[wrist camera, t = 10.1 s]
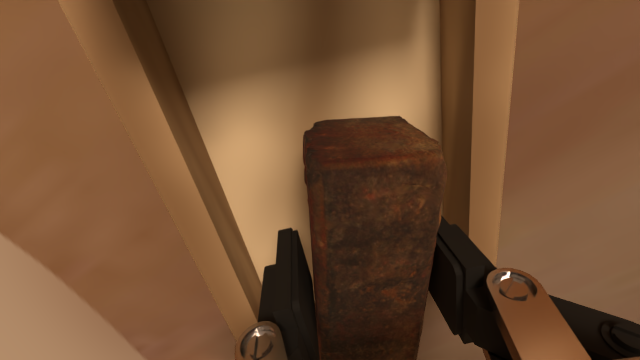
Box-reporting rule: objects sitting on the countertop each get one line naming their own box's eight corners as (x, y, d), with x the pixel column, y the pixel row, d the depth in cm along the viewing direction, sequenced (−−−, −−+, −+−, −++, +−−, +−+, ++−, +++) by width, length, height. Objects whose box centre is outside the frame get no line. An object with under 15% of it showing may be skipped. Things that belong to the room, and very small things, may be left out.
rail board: (459, -129, 10) (745, -417, 4) (456, 254, 18) (548, 371, 12) (100, -44, 10) (-216, -189, 4) (252, 301, 18) (231, 442, 12)
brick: (300, 118, 11) (302, 164, 7) (399, 112, 11) (460, 153, 7) (314, 309, 16) (320, 406, 12) (384, 302, 16) (416, 395, 12)
